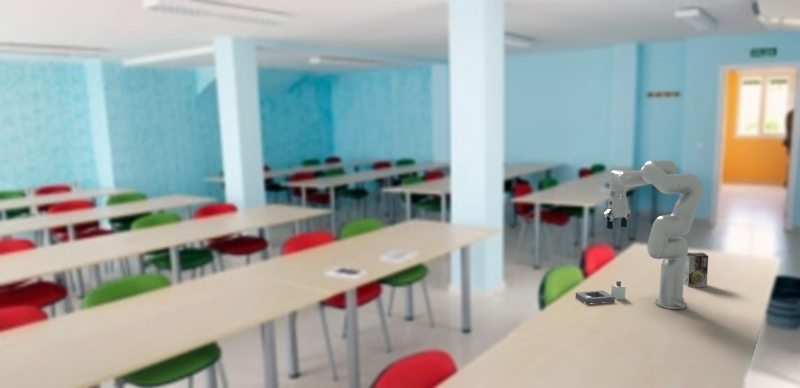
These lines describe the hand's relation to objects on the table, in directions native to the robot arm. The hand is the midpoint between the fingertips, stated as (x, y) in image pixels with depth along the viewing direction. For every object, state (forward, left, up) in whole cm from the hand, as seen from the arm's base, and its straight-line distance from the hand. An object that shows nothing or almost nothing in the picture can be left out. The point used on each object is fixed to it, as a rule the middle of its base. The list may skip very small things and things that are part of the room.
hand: (616, 227), depth 290 cm
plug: (-25, +14, -28) cm, 40 cm away
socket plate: (-25, +26, -28) cm, 46 cm away
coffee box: (-16, -34, -28) cm, 47 cm away
